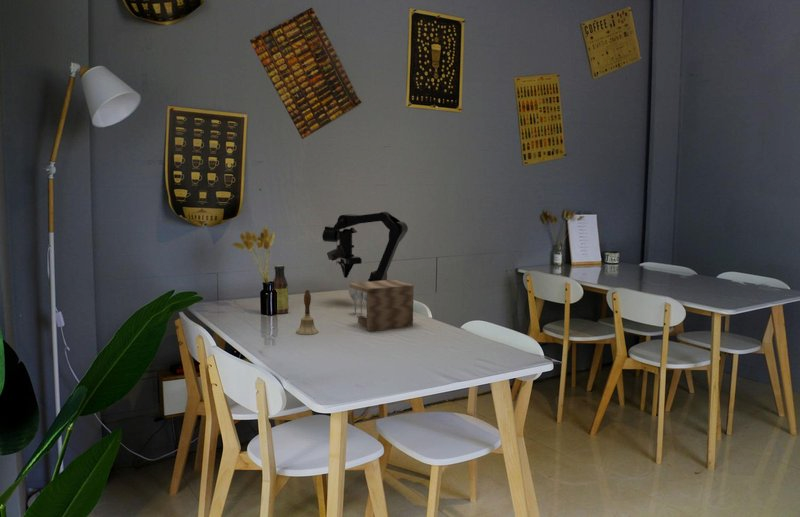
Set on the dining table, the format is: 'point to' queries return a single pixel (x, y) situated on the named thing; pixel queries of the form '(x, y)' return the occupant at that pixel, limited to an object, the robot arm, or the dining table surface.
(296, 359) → the dining table surface
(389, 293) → the walnut cubby
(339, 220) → the robot arm
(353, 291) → the goblet set
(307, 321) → the hand bell
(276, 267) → the sauce bottle
